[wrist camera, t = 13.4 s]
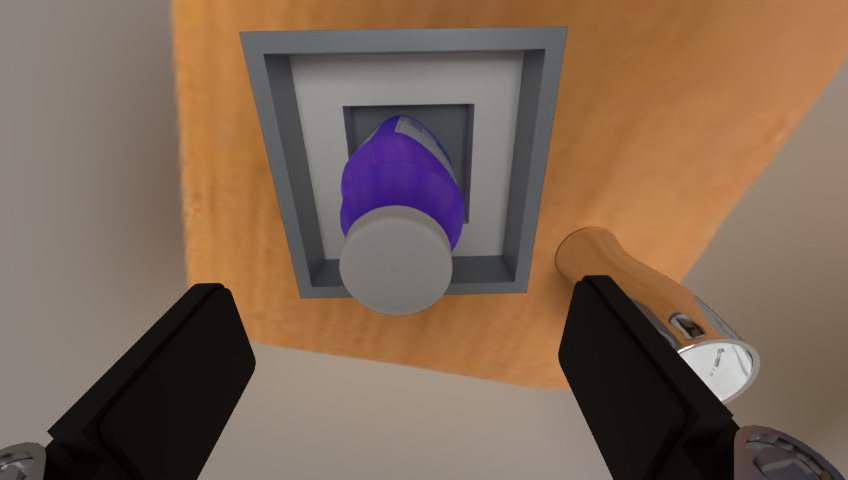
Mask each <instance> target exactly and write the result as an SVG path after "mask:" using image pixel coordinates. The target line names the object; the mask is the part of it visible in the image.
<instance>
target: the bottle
mask: <svg viewBox="0 0 848 480" xmlns="http://www.w3.org/2000/svg"><path fill="white" fill-rule="evenodd" d="M341 194H342V198H343V201H342V205H341V210H340V223H341V229H342V232H343V234H344V236H345V238H346V239H345V244H344V246H343V248H342V252H341V255H340V263H339V270H340V274H341V278H342V280H343V283H344V285H345V287H346V289H347V290H348V292H349V293H350V294H351V295H352V296H353V297H354V298H355V299H356V300H357V301H358V302H359V303H361V304H362V305H364V306H365V307H367V308H369V309H371V310H373V311H375V312H379V313H383V314H387V315H408V314H413V313H416V312H419V311H422V310H424V309H426V308H428V307H430V306H431V305H433V304H434V303H435V302H437V301H438V300H439V299H440V298H441V297H442V295H443V294H444V293H445V291H446V289H447V288H448V286H449V284H450V280H451V277H452V258H451V252H452V251H453V249H454V248H455V246H456V244H457V242H458V240H459V238H460V235H461V232H462V227H463V219H464V215H465V205H464V200H463V196H462V194H461V192H460V189H459V187H458V185H457V182H456V179H455V175H454V172H453V168H452V164H451V161H450V159H449V157H448V155H447V153H446V151H445V150H444V148H443V147H442V145H441V144H440V143H439V141H438V140H437V139H436V138H435V136H434V135H433V134H432V133H431V132H430V131H429V130H428V129H427V128H426V127H425V126H424V125H422V124H421V123H420V122H418V121H417V120H415V119H413V118H411V117H408V116H394V117H391V118H388V119H387V120H386V121H384V122H382V123H380V124H379V125H378V126H377V127H376V128H375V129H374V130H373V131H372V132H371V134H370V135H369V136H368V137H367V138H366V140H365V141H364V142H363V143H362V144H361V146H360V147H359V148H358V149H357V151H356V152H355V153H354V154H353V155H352V156H351V157H350V159H349V160H348V162H347V163H346V165H345V168H344V171H343V174H342V181H341Z"/></svg>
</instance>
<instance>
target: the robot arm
mask: <svg viewBox="0 0 848 480" xmlns="http://www.w3.org/2000/svg"><path fill="white" fill-rule="evenodd" d="M558 358H559V363H560V366H561V368H562V370H563V372H564V374H565V376H566V379H567V381H568V383H569V385H570V387H571V389H572V392H573V394H574V396H575V398H576V400H577V402H578V404H579V407H580V409H581V411H582V413H583V415H584V417H585V419H586V422H587V424H588V426H589V428H590V430H591V432H592V435H593V436H594V439H595V441H596V443H597V445H598V447H599V450H600V452H601V454H602V456H603V458H604V460H605V462H606V465H607V467H608V469H609V471H610V473H611V475H612V477H613V480H845V479H844V477H843V476H842V475H841V474H840V472H839V471H838V470H837V469H836V468H835V467H834V466H833V465H832V464H831V463H830V462H828V461H827V460H826V459H825V458H824V457H823V456H822V455H821V454H819V453H818V452H816V451H815V450H813V449H812V448H811V447H809V446H808V445H806V444H805V443H803V442H801V441H799V440H798V439H796V438H794V437H792V436H790V435H788V434H786V433H784V432H781V431H778V430H775V429H772V428H770V427H764V426H758V425H751V426H744V427H742V428H741V429H740V427H739V426H738V425H737V424H736V423H735V422H734V421H733V419H732V417H733V414H732V413H731V412H730V411H729V410H728V409H727V408H726V406H725V405H724V404H723V403H722V402H721V401H720V400H719V399H718V397H717V396H716V395H715V394H714V393H713V392H712V391H711V390H710V388H709V387H708V386H707V385H706V384H705V383H704V382H703V381H702V379H701V378H700V377H699V376H698V375H697V374H696V373H695V372H694V370H693V369H692V368H691V367H690V366H689V365H688V364H687V363H686V361H685V360H684V359H683V358H682V357H681V356H680V355H679V353H678V352H677V351H676V350H675V349H674V348H673V347H672V346H671V344H670V343H669V342H668V341H667V340H666V339H665V338H664V337H663V335H662V334H661V333H660V332H659V331H658V330H657V329H656V328H655V326H654V325H653V324H652V323H651V322H650V321H649V320H648V319H647V317H646V316H645V315H644V314H643V313H642V312H641V311H640V309H639V308H638V307H637V306H636V305H635V304H634V303H633V302H632V300H631V299H630V298H629V297H628V296H627V295H626V294H625V293H624V291H623V290H622V289H621V288H620V287H619V286H618V285H617V284H616V282H615V281H614V280H613V279H612V278H611V277H610V276H609V275H586V276H584V277H583V278H582V280H581V281H577V282H576V284H575V287H574V291H573V295H572V299H571V303H570V307H569V311H568V315H567V319H566V323H565V327H564V332H563V336H562V340H561V344H560V348H559V352H558ZM255 365H256V362H255V357H254V354H253V351H252V348H251V346H250V343H249V340H248V337H247V334H246V332H245V329H244V326H243V324H242V321H241V318H240V315H239V313H238V310H237V307H236V304H235V302H234V299H233V296H232V293H231V291H230V290H229V289H227V288H225V287H224V286H223V285H222V284H220V283H199V284H195V285H194V286H192V287H191V288H190V289H189V290H188V291H187V292H186V293H185V294H184V295H183V296H182V297H181V298H180V299H179V300H178V301H177V302H176V303H175V304H174V305H173V306H172V307H171V308H170V309H169V310H168V311H167V312H166V313H165V314H164V315H163V316H162V317H161V318H160V319H159V320H158V321H157V322H156V323H155V324H154V325H153V326H152V327H151V328H150V329H149V330H148V331H147V332H146V333H145V334H144V335H143V336H142V337H141V338H140V339H139V340H138V341H137V342H136V343H135V344H134V345H133V346H132V347H131V348H130V349H129V350H128V351H127V352H126V353H125V354H124V355H123V356H122V357H121V358H120V359H119V360H118V361H117V362H116V363H115V364H114V365H113V366H112V367H111V368H110V369H109V370H108V371H107V372H106V373H105V374H104V375H103V376H102V377H101V378H100V379H99V380H98V381H97V382H96V383H95V384H94V385H93V386H92V387H91V388H90V389H89V390H88V391H87V392H86V393H85V394H84V395H83V396H82V397H81V398H80V399H79V400H78V401H77V402H76V403H75V404H74V405H73V406H72V407H71V408H70V409H69V410H68V411H67V412H66V413H65V414H64V415H63V416H62V417H61V418H60V419H59V420H58V421H57V422H56V423H55V424H54V425H53V426H52V427H51V428H50V429H49V430H48V431H47V432H48V433H49V434H50V435H51V436H52V437H53V440H52V441H51V442H50V443H49V444H48V445H47V446H46V448H45V447H43V446H41V445H40V444H39V443H31V442H25V443H21V444H16V445H12V446H9V447H6V448H4V449H1V450H0V480H197V478H198V476H199V474H200V473H201V471H202V469H203V467H204V465H205V463H206V461H207V459H208V457H209V456H210V454H211V452H212V450H213V448H214V446H215V444H216V442H217V441H218V439H219V437H220V435H221V433H222V431H223V429H224V427H225V425H226V423H227V422H228V420H229V418H230V416H231V414H232V412H233V410H234V408H235V406H236V404H237V403H238V401H239V399H240V397H241V395H242V393H243V391H244V389H245V388H246V385H247V384H248V382H249V380H250V378H251V376H252V374H253V372H254V369H255Z"/></svg>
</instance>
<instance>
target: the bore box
mask: <svg viewBox="0 0 848 480" xmlns="http://www.w3.org/2000/svg"><path fill="white" fill-rule="evenodd" d="M567 28H568V26H553V27H494V28H434V29H374V30H314V31H255V32H239V34H240V39H241V43H242V47H243V52H244V56H245V60H246V65H247V69H248V73H249V78H250V82H251V86H252V91H253V95H254V99H255V103H256V108H257V112H258V116H259V121H260V125H261V129H262V134H263V138H264V142H265V147H266V151H267V155H268V160H269V164H270V168H271V173H272V177H273V181H274V186H275V190H276V194H277V199H278V203H279V207H280V211H281V216H282V220H283V224H284V229H285V233H286V237H287V242H288V246H289V250H290V255H291V259H292V263H293V268H294V272H295V276H296V281H297V285H298V289H299V294H300V298H301V299H302V298H342V297H353V296H352V295H351V294H350V293H349V292H348V290H347V289H346V287H345V285H344V283H343V280H342V278H341V274H340V270H339V263H340V255H341V252H342V248H343V246H344V244H345V239H346V238H345V236H344V234H343V232H342V229H341V223H340V210H341V205H342V201H343V198H342V194H341V181H342V174H343V171H344V168H345V165H346V163H347V162H348V160H349V159H350V157H351V156H352V155H353V154H354V153H355V152H356V151H357V149H358V148H359V147H360V146H361V144H362V143H363V142H364V141H365V140H366V138H367V137H368V136H369V135H370V134H371V132H372V131H373V130H374V129H375V128H376V127H377V126H378V125H379V124H380V123H382V122H384V121H386V120H387V119H388V118H391V117H394V116H408V117H411V118H413V119H415V120H417V121H418V122H420V123H421V124H422V125H424V126H425V127H426V128H427V129H428V130H429V131H430V132H431V133H432V134H433V135H434V136H435V138H436V139H437V140H438V141H439V143H440V144H441V145H442V147H443V148H444V150H445V151H446V153H447V155H448V157H449V159H450V161H451V164H452V168H453V172H454V175H455V179H456V182H457V185H458V187H459V189H460V192H461V194H462V196H463V200H464V205H465V215H464V219H463V227H462V232H461V235H460V238H459V240H458V242H457V244H456V246H455V248H454V249H453V251H452V252H451V258H452V277H451V280H450V284H449V286H448V288H447V289H446V291H445V293H444V294H443V295H462V294H502V293H527V287H528V280H529V274H530V267H531V261H532V254H533V248H534V242H535V235H536V229H537V222H538V216H539V209H540V203H541V196H542V190H543V183H544V177H545V171H546V164H547V158H548V151H549V145H550V138H551V132H552V125H553V119H554V112H555V106H556V99H557V93H558V87H559V80H560V74H561V67H562V61H563V54H564V48H565V41H566V35H567Z"/></svg>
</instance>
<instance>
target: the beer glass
mask: <svg viewBox="0 0 848 480" xmlns="http://www.w3.org/2000/svg"><path fill="white" fill-rule="evenodd" d="M556 265H557V268H558V270H559V272H560V273H561V274H562V275H563V276H564V277H565V278H566V279H567V280H569V281H570V282H571V283H572V284H573V285H574V286H575V284H576V282H577V281H581V280H582V278H583V277H584V276H586V275H609V276H610V277H611V278H612V279H613V280H614V281H615V282H616V284H617V285H618V286H619V287H620V288H621V289H622V290H623V291H624V293H625V294H626V295H627V296H628V297H629V298H630V299H631V300H632V302H633V303H634V304H635V305H636V306H637V307H638V308H639V309H640V311H641V312H642V313H643V314H644V315H645V316H646V317H647V319H648V320H649V321H650V322H651V323H652V324H653V325H654V326H655V328H656V329H657V330H658V331H659V332H660V333H661V334H662V335H663V337H664V338H665V339H666V340H667V341H668V342H669V343H670V344H671V346H672V347H673V348H674V349H675V350H676V351H677V352H678V353H679V355H680V356H681V357H682V358H683V359H684V360H685V361H686V363H687V364H688V365H689V366H690V367H691V368H692V369H693V370H694V372H695V373H696V374H697V375H698V376H699V377H700V378H701V379H702V381H703V382H704V383H705V384H706V385H707V386H708V387H709V388H710V390H711V391H712V392H713V393H714V394H715V395H716V396H717V397H718V399H719V400H720V401H721V402H722V403H723V404H724V405H725V404H727V403H729V402H730V401H732V400H734V399H735V398H736V397H738V396H739V395H740V394H742V393H743V392H744V391H745V390H746V389H747V388H748V387H749V386H750V385H751V384H752V383H753V381H754V380H755V378H756V377H757V375H758V372H759V369H760V357H759V354H758V352H757V351H756V350H755V348H754V347H752V346H751V345H750V344H748V343H747V342H746V341H745V340H744V339H743V338H742V337H741V336H740V335H739V334H738V333H737V332H736V331H735V330H734V329H733V328H732V327H731V326H730V325H729V324H728V323H726V321H724V320H723V319H722V318H721V317H720V316H719V315H718V314H717V313H716V312H715V311H714V310H713V309H711V308H710V307H709V306H708V305H707V304H706V303H704V302H703V301H702V300H701V299H700V298H698V297H697V296H696V295H695V294H693V293H691V292H690V291H689V290H688V289H686V288H685V287H684V286H682V285H681V284H679V283H677V282H676V281H674V280H673V279H671V278H669V277H668V276H666V275H664V274H662V273H660V272H659V271H657V270H655V269H653V268H651V267H649V266H647V265H646V264H644V263H642V262H640V261H638V260H636V259H635V258H633V257H632V256H630V255H629V254H627V253H626V252H625V251H624V249H623V248H622V247H621V245H620V244H619V242H618V240H617V239H616V238H615V236H614V235H613V234H612V233H610V232H609V231H607V230H605V229H602V228H586V229H582V230H579V231H577V232H575V233H573V234H572V235H570V236H569V237H568V238H567V239H565V241H564V242H563V243H562V244H561V246H560V247H559V249H558V251H557V255H556Z"/></svg>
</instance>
